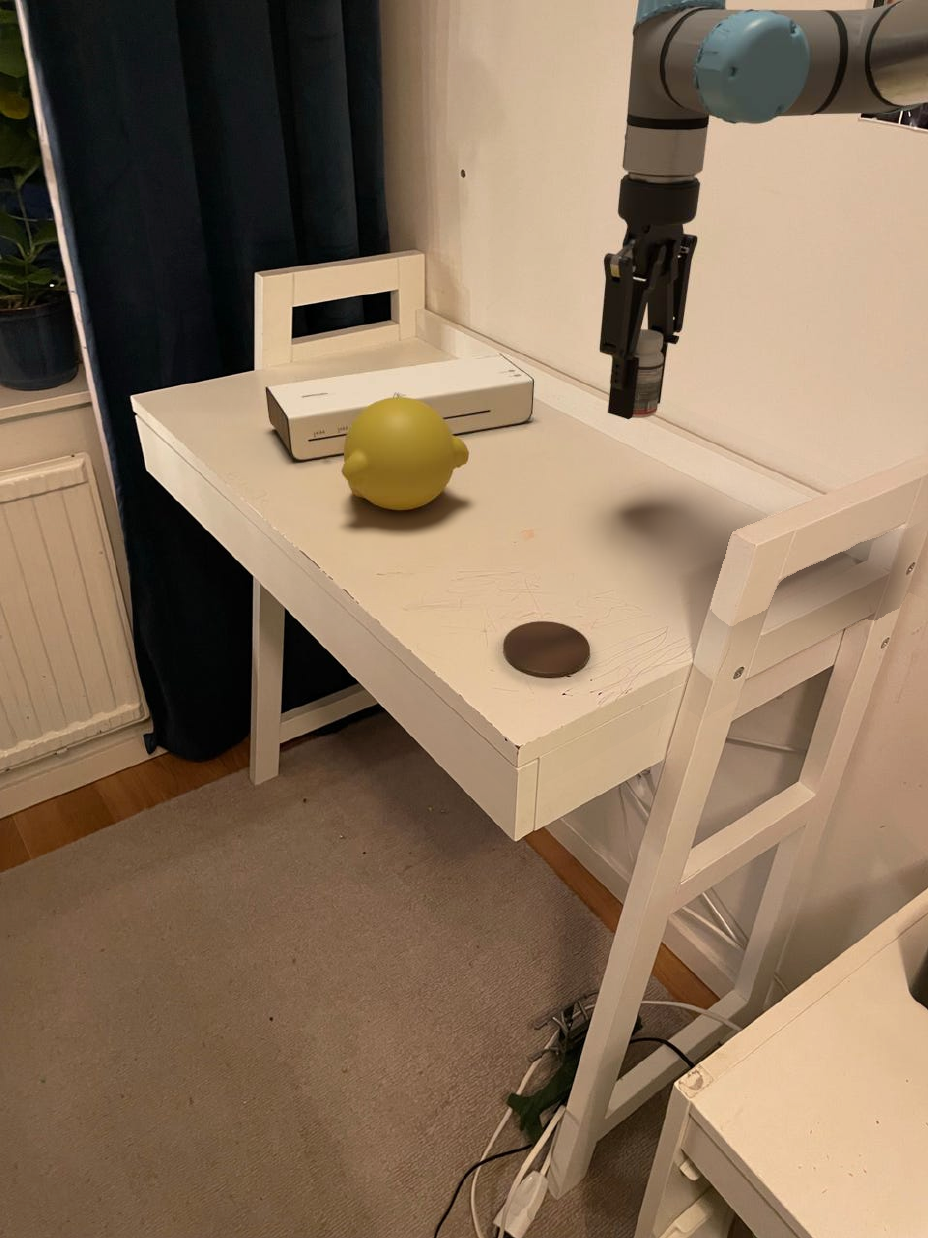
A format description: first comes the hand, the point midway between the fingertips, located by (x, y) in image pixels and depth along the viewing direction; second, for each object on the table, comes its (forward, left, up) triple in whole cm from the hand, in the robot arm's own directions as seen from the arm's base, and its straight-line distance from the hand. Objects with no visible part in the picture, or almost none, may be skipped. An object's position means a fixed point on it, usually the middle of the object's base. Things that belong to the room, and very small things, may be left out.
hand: (634, 407), depth 102 cm
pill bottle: (0, 0, -1) cm, 1 cm away
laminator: (+36, +1, -13) cm, 38 cm away
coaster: (-10, +28, -12) cm, 32 cm away
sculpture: (+20, +17, -13) cm, 29 cm away
